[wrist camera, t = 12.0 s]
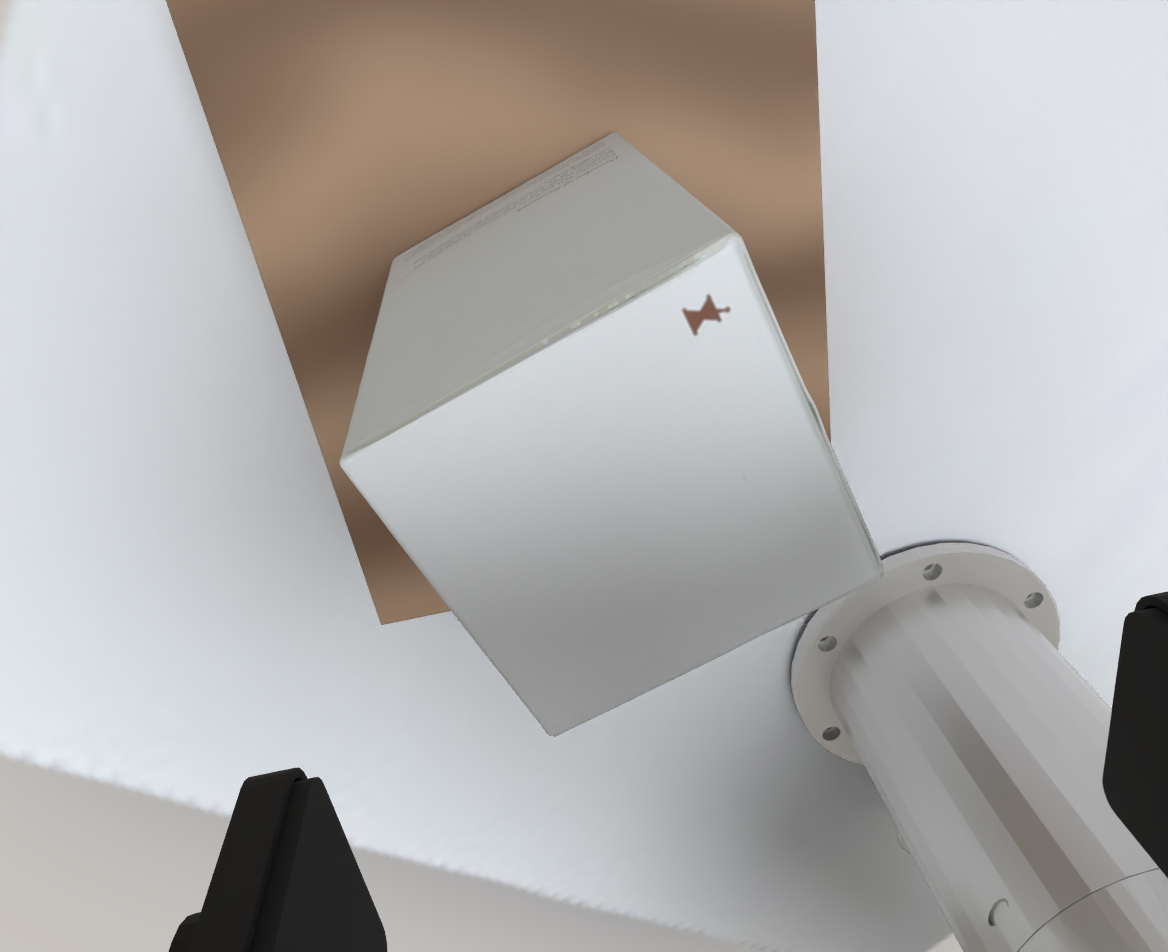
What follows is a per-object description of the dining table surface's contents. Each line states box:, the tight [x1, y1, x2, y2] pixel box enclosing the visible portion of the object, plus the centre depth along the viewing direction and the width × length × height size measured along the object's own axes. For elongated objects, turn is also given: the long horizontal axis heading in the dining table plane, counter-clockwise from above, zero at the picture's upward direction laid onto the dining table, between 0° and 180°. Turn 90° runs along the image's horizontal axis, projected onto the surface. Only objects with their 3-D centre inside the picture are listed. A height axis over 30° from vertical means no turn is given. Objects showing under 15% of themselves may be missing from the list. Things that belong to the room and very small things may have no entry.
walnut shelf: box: [166, 0, 831, 625], centre depth 29 cm, size 20×16×6 cm
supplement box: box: [339, 132, 884, 737], centre depth 20 cm, size 7×7×13 cm
